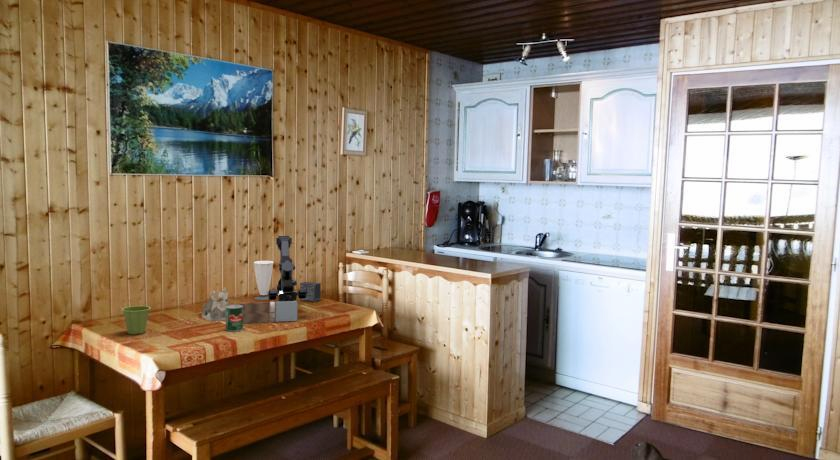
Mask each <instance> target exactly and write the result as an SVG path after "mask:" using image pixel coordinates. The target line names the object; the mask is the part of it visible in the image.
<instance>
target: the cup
mask: <svg viewBox="0 0 840 460" xmlns="http://www.w3.org/2000/svg"><path fill="white" fill-rule="evenodd" d="M253 266H254V267H253V268H254V275H255V281H256V286H257V289H258V294H259V296H255V297H253V299H254V300H257V301H270V300H269V290H270V286H271V281H272V275H273V267H274V261H272V260H257V261H254V262H253Z"/></svg>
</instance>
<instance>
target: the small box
mask: <svg viewBox="0 0 840 460" xmlns="http://www.w3.org/2000/svg"><path fill="white" fill-rule="evenodd" d="M299 285H300V288H299V289H304V288H305V289H306V290H307V295H306V298H305V299H300V300H299V301H300V302H311V303H316V302H320V301H321V298H322V297H321V296H322V295H321V293H322V291H321V290H322V289H321V286H322V285H321V282H311V281H304V282H300V284H299Z"/></svg>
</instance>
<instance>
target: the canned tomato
mask: <svg viewBox="0 0 840 460" xmlns="http://www.w3.org/2000/svg"><path fill="white" fill-rule="evenodd" d="M226 330H227V331H226ZM239 330H240V331H243V330H244V324H243V305H239V304H229V305H228V306H226V320H225V331H226V332H238V331H239ZM240 331H239V332H240Z"/></svg>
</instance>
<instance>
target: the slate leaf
mask: <svg viewBox="0 0 840 460" xmlns="http://www.w3.org/2000/svg"><path fill="white" fill-rule="evenodd" d="M270 312H275V323H276V322H297V321H298V300H294V301H286V302H278V301H270V302H269V313H270Z"/></svg>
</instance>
